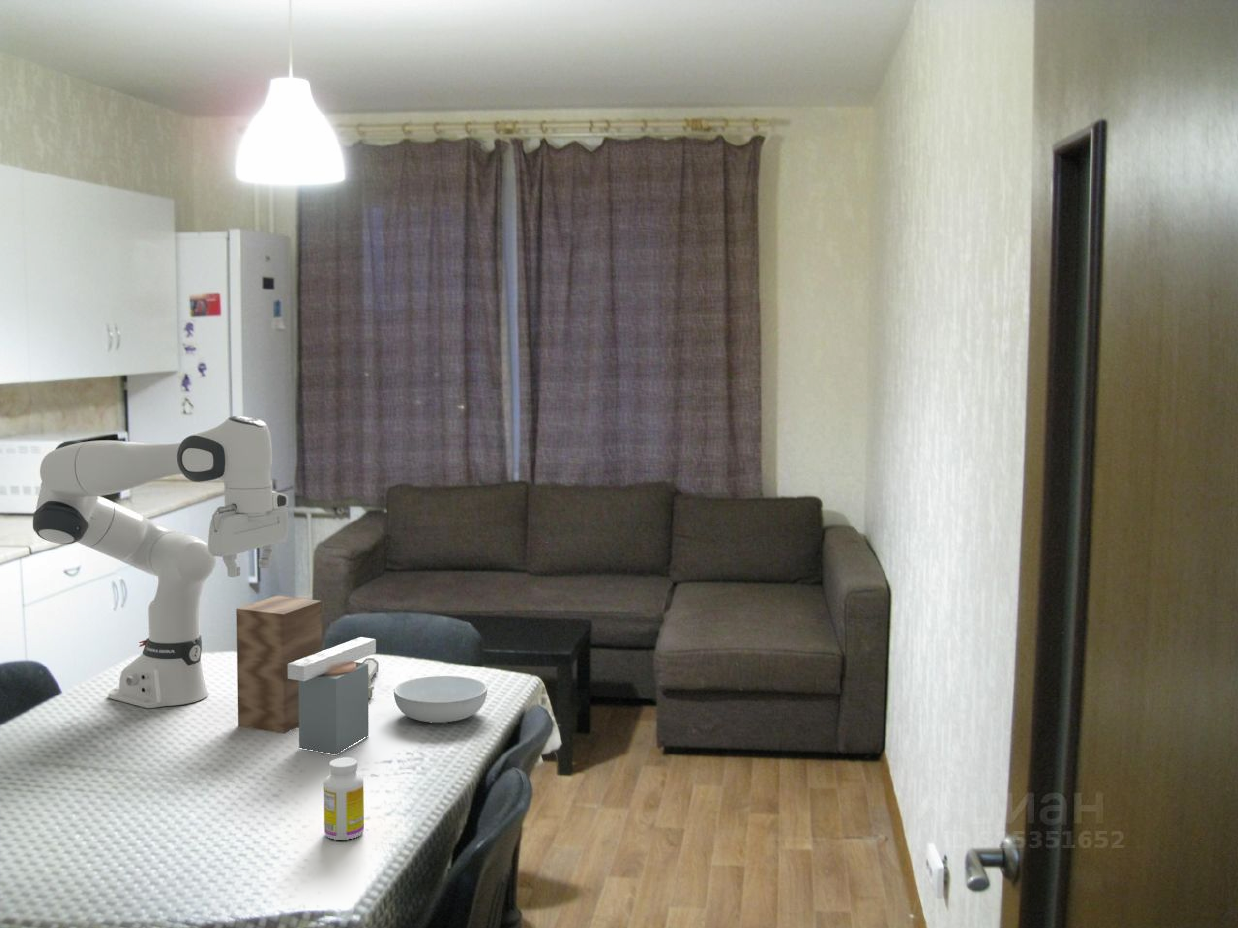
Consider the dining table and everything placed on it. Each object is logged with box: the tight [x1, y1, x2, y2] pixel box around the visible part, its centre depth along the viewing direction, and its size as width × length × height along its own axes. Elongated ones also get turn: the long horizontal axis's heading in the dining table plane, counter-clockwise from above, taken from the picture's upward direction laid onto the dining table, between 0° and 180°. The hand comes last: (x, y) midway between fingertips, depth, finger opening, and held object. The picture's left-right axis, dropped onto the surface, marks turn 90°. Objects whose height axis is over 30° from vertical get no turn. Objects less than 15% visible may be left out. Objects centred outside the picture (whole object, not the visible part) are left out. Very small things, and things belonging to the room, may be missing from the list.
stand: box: [235, 595, 323, 734], centre depth 262 cm, size 12×14×26 cm
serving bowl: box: [393, 675, 489, 724], centre depth 268 cm, size 21×21×7 cm
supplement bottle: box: [323, 757, 365, 841], centre depth 205 cm, size 7×7×13 cm
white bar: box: [288, 636, 377, 681], centre depth 248 cm, size 4×24×3 cm, turn 156°
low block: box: [298, 661, 369, 755], centre depth 249 cm, size 9×12×17 cm
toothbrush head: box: [361, 657, 379, 700], centre depth 290 cm, size 5×7×25 cm
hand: (249, 571), depth 231 cm, fingers open, 8 cm apart
